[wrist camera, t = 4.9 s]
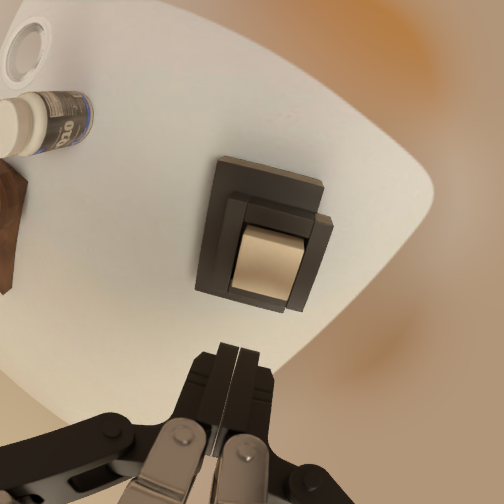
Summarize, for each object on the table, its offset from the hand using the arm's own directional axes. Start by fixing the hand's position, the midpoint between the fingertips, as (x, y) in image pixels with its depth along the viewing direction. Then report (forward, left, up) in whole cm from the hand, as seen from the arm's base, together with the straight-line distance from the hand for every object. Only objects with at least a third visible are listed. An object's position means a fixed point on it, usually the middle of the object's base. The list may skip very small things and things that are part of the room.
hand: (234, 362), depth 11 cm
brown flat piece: (+7, -30, -13) cm, 34 cm away
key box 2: (0, -1, -13) cm, 13 cm away
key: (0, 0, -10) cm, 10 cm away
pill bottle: (-6, -18, -13) cm, 23 cm away
